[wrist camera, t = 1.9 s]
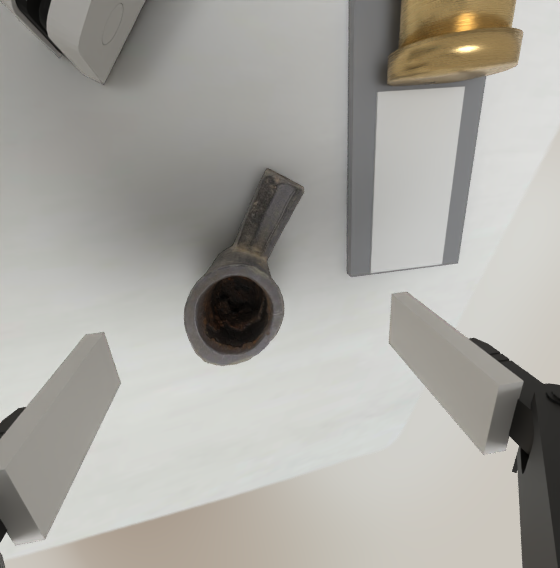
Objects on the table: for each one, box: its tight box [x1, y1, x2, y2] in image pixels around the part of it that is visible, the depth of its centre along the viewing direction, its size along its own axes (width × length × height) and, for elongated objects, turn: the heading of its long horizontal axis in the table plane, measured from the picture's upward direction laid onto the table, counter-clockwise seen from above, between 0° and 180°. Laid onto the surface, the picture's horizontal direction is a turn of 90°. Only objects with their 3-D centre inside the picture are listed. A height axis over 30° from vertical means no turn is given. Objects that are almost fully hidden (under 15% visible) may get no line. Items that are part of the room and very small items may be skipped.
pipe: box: [184, 168, 304, 366], centre depth 23 cm, size 6×13×8 cm, turn 155°
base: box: [347, 0, 486, 277], centre depth 24 cm, size 22×10×1 cm, turn 4°
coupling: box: [387, 0, 523, 86], centre depth 19 cm, size 7×7×7 cm
